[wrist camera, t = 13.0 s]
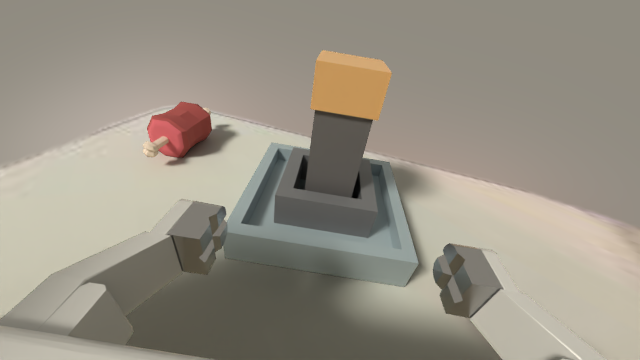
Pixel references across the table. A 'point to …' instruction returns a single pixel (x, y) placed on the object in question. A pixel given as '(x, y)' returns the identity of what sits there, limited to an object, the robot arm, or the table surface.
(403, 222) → the box
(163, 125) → the meat
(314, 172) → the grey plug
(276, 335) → the table surface
